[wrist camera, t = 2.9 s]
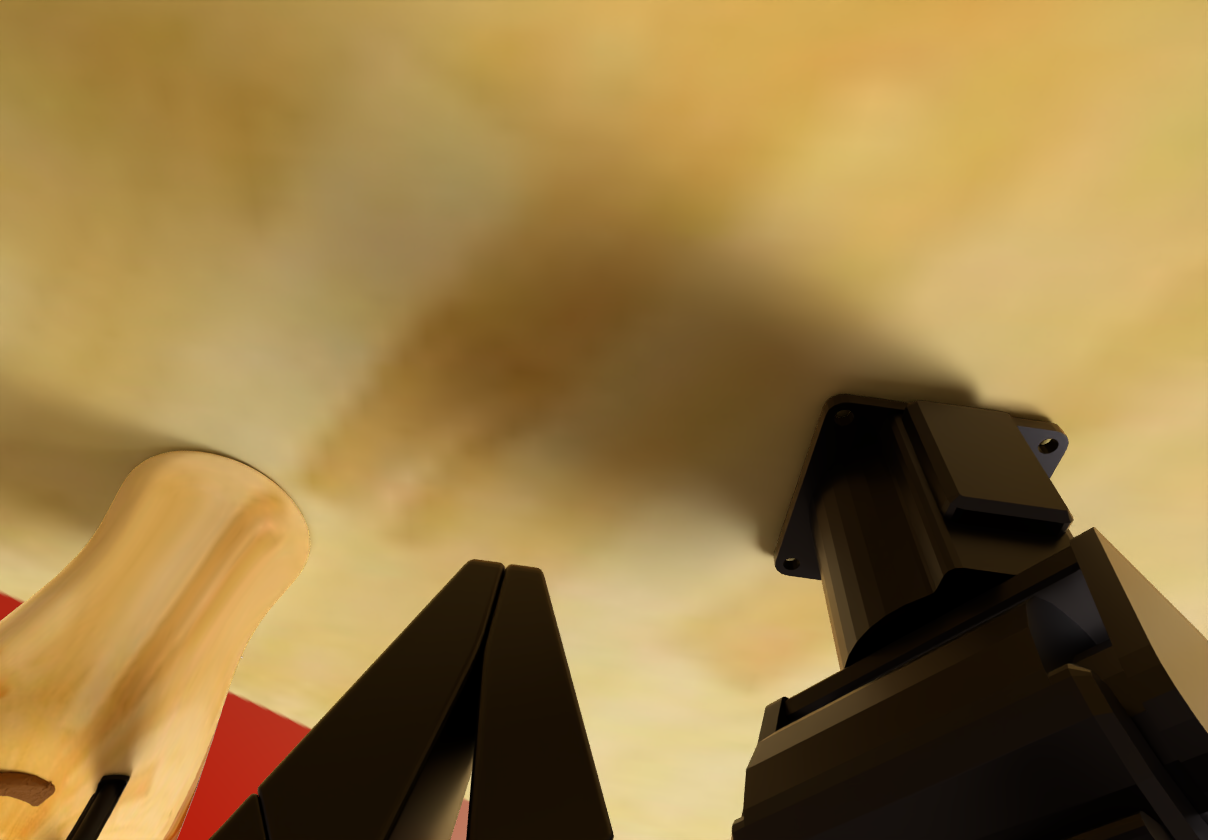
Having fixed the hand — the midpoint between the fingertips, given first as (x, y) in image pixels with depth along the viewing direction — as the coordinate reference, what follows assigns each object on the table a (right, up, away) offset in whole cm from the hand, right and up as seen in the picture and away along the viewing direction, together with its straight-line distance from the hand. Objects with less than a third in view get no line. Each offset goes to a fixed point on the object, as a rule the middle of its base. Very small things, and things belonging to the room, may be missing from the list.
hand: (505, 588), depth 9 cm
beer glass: (-11, -1, +17) cm, 20 cm away
